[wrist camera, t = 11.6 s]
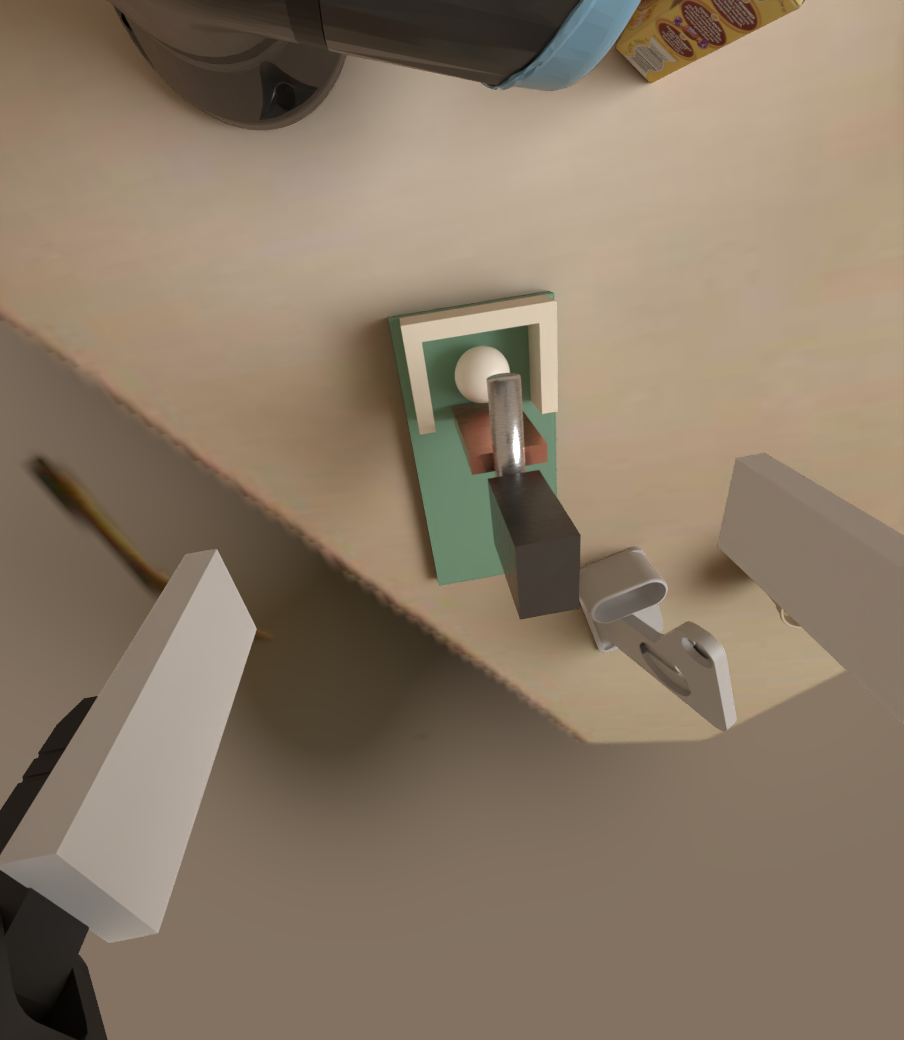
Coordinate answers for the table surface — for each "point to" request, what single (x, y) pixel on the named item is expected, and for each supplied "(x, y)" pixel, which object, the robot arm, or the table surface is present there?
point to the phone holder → (655, 634)
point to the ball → (478, 371)
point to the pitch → (433, 391)
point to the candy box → (691, 30)
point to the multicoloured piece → (521, 500)
